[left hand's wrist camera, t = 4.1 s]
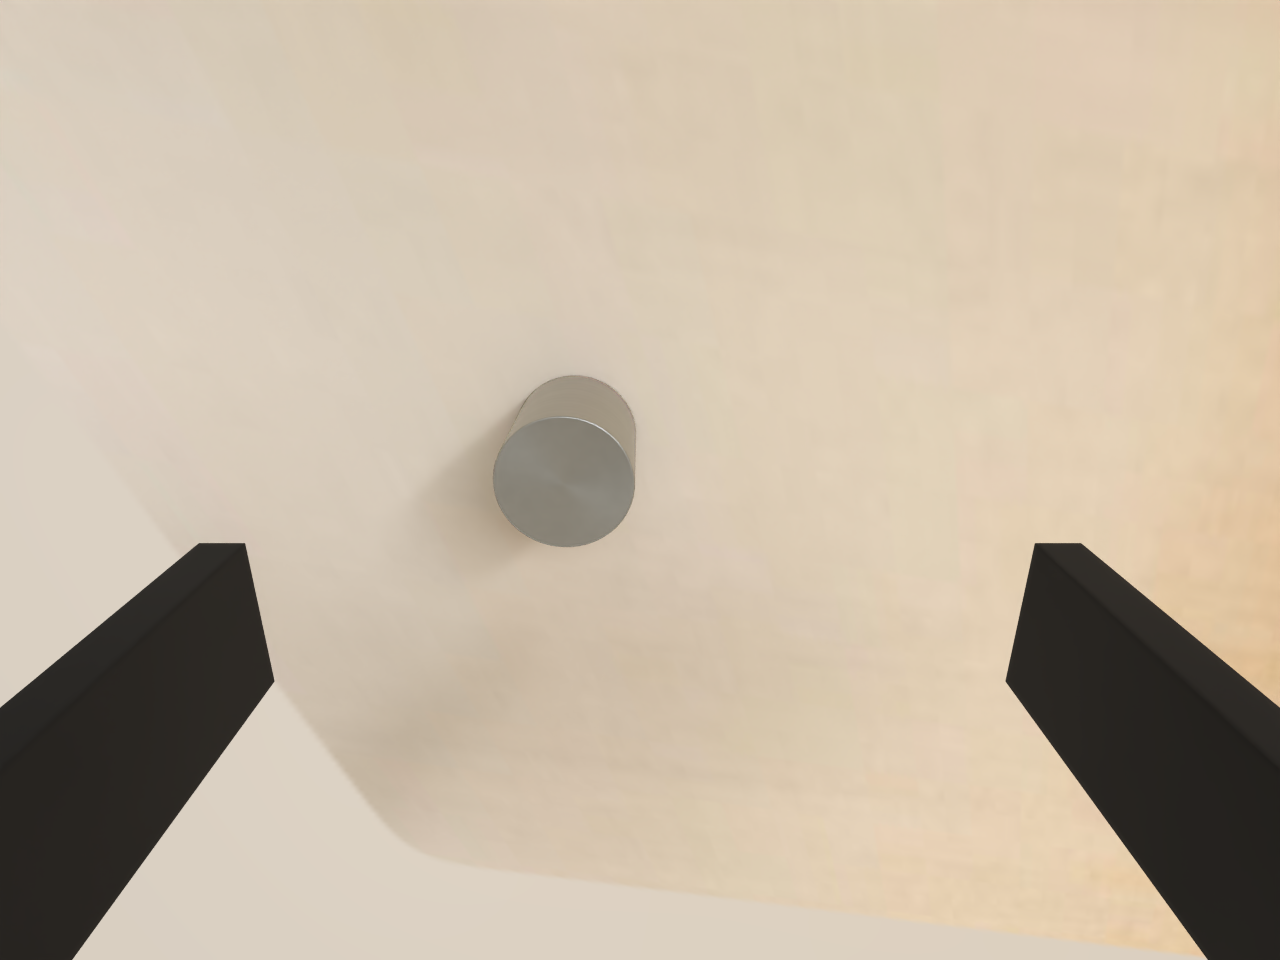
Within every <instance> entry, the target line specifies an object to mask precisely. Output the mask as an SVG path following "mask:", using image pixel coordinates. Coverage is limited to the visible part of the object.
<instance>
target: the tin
mask: <svg viewBox="0 0 1280 960" xmlns="http://www.w3.org/2000/svg"><path fill="white" fill-rule="evenodd" d="M635 451H636V428H635V422H634V418H633V415H632V413H631V411H630V409H629V407H628V405H627V403H626V402H625V401H624V399H623V398H622V397H621V396H620V395H619V394H618V393H617V392H616V391H615V390H614V389H612V388H611V387H610V386H608V385H606V384H605V383H603V382H601V381H598V380H596V379H593V378H589V377H583V376H565V377H560V378H556V379H553V380H551V381H548V382H547V383H545V384H543V385H541V386H540V387H539V388H537V389H536V390H535V391H534V392H533V393H532V394H531V395H530V396H529V397H528V399H527V400H526V401H525V403H524V405H523V406H522V408H521V410H520V412H519V414H518V416H517V418H516V420H515V422H514V424H513V426H512V428H511V430H510V432H509V434H508V436H507V438H506V440H505V442H504V444H503V446H502V448H501V450H500V451H499V454H498V456H497V459H496V461H495V466H494V472H493V487H494V492H495V496H496V499H497V502H498V504H499V506H500V508H501V510H502V512H503V513H504V515H505V516H506V518H507V519H508V520H509V521H510V522H511V524H512V525H513V526H514V527H516V528H517V529H518V530H519V531H520V532H522V533H523V534H525V535H526V536H528V537H530V538H532V539H534V540H536V541H538V542H541V543H544V544H547V545H551V546H558V547H574V546H581V545H586V544H589V543H592V542H595V541H597V540H599V539H601V538H603V537H604V536H606V535H607V534H609V533H610V532H612V531H613V530H614V529H615V528H616V527H617V526H618V525H619V524H620V523H621V522H622V520H623V519H624V517H625V516H626V514H627V513H628V511H629V508H630V506H631V503H632V500H633V497H634V490H635Z"/></svg>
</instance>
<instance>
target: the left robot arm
mask: <svg viewBox="0 0 1280 960" xmlns="http://www.w3.org/2000/svg"><path fill="white" fill-rule="evenodd" d="M273 683H274V677H273V672H272V667H271V663H270V658H269V653H268V649H267V644H266V639H265V635H264V630H263V625H262V621H261V616H260V611H259V606H258V602H257V597H256V592H255V588H254V583H253V578H252V574H251V569H250V564H249V560H248V555H247V550H246V546H245V543H199V544H197V545H196V546H195V547H194V548H193V549H191V550H190V551H189V552H188V553H187V554H185V555H184V556H183V557H182V558H181V559H179V560H178V561H177V562H176V563H175V564H173V565H172V566H171V567H170V568H168V569H167V570H166V571H165V572H164V573H162V574H161V575H160V576H159V577H158V578H156V579H155V580H154V581H153V582H152V583H150V584H149V585H148V586H147V587H146V588H144V589H143V590H142V591H141V592H140V593H138V594H137V595H136V596H135V597H133V598H132V599H131V600H130V601H129V602H127V603H126V604H125V605H124V606H123V607H121V608H120V609H119V610H118V611H117V612H115V613H114V614H113V615H112V616H110V617H109V618H108V619H107V620H106V621H104V622H103V623H102V624H101V625H100V626H98V627H97V628H96V629H95V630H94V631H92V632H91V633H90V634H89V635H88V636H86V637H85V638H84V639H83V640H81V641H80V642H79V643H78V644H77V645H75V646H74V647H73V648H72V649H71V650H69V651H68V652H67V653H66V654H65V655H63V656H62V657H61V658H60V659H59V660H57V661H56V662H55V663H54V664H53V665H51V666H50V667H49V668H48V669H46V670H45V671H44V672H43V673H42V674H40V675H39V676H38V677H37V678H36V679H34V680H33V681H32V682H31V683H30V684H28V685H27V686H26V687H25V688H24V689H22V690H21V691H20V692H19V693H17V694H16V695H15V696H14V697H13V698H11V699H10V700H9V701H8V702H7V703H5V704H4V705H3V706H2V707H1V708H0V960H72V959H73V958H74V956H75V955H76V954H77V952H78V951H79V950H80V948H81V947H82V945H83V944H84V943H85V941H86V940H87V939H88V937H89V936H90V934H91V933H92V932H93V930H94V929H95V928H96V926H97V925H98V923H99V922H100V921H101V919H102V918H103V917H104V915H105V914H106V912H107V911H108V910H109V908H110V907H111V906H112V904H113V903H114V901H115V900H116V899H117V897H118V896H119V895H120V893H121V892H122V890H123V889H124V888H125V886H126V885H127V884H128V882H129V881H130V879H131V878H132V877H133V875H134V874H135V873H136V871H137V870H138V868H139V867H140V866H141V864H142V863H143V862H144V860H145V859H146V857H147V856H148V855H149V853H150V852H151V851H152V849H153V848H154V846H155V845H156V844H157V842H158V841H159V839H160V838H161V837H162V835H163V834H164V833H165V831H166V830H167V829H168V827H169V826H170V824H171V823H172V822H173V820H174V819H175V818H176V816H177V815H178V813H179V812H180V811H181V809H182V808H183V806H184V805H185V804H186V802H187V801H188V800H189V798H190V797H191V795H192V794H193V793H194V791H195V790H196V789H197V787H198V786H199V784H200V783H201V782H202V780H203V779H204V778H205V776H206V775H207V773H208V772H209V771H210V769H211V768H212V767H213V765H214V764H215V762H216V761H217V760H218V758H219V757H220V755H221V754H222V753H223V751H224V750H225V749H226V747H227V746H228V745H229V743H230V742H231V740H232V739H233V738H234V736H235V735H236V734H237V732H238V731H239V729H240V728H241V727H242V725H243V724H244V723H245V721H246V720H247V718H248V717H249V716H250V714H251V713H252V711H253V710H254V709H255V707H256V706H257V705H258V703H259V702H260V701H261V699H262V698H263V696H264V695H265V694H266V692H267V691H268V689H269V688H270V687H271V685H272V684H273ZM1006 683H1007V684H1008V685H1009V687H1010V688H1011V690H1012V691H1013V692H1014V694H1015V695H1016V696H1017V698H1018V699H1019V701H1020V702H1021V703H1022V705H1023V706H1024V707H1025V709H1026V710H1027V712H1028V713H1029V714H1030V716H1031V717H1032V718H1033V720H1034V721H1035V723H1036V724H1037V725H1038V727H1039V728H1040V729H1041V731H1042V732H1043V734H1044V735H1045V736H1046V738H1047V739H1048V740H1049V742H1050V743H1051V745H1052V746H1053V747H1054V749H1055V750H1056V751H1057V753H1058V754H1059V756H1060V757H1061V758H1062V760H1063V761H1064V762H1065V764H1066V765H1067V767H1068V768H1069V769H1070V771H1071V772H1072V773H1073V775H1074V776H1075V778H1076V779H1077V780H1078V782H1079V783H1080V784H1081V786H1082V787H1083V789H1084V790H1085V791H1086V793H1087V794H1088V795H1089V797H1090V798H1091V800H1092V801H1093V802H1094V804H1095V805H1096V806H1097V808H1098V809H1099V811H1100V812H1101V813H1102V815H1103V816H1104V818H1105V819H1106V820H1107V822H1108V823H1109V824H1110V826H1111V827H1112V829H1113V830H1114V831H1115V833H1116V834H1117V835H1118V837H1119V838H1120V840H1121V841H1122V842H1123V844H1124V845H1125V846H1126V848H1127V849H1128V851H1129V852H1130V853H1131V855H1132V856H1133V857H1134V859H1135V860H1136V862H1137V863H1138V864H1139V866H1140V867H1141V868H1142V870H1143V871H1144V873H1145V874H1146V875H1147V877H1148V878H1149V879H1150V881H1151V882H1152V884H1153V885H1154V886H1155V888H1156V889H1157V890H1158V892H1159V893H1160V895H1161V896H1162V897H1163V899H1164V900H1165V901H1166V903H1167V904H1168V906H1169V907H1170V908H1171V910H1172V911H1173V912H1174V914H1175V915H1176V917H1177V918H1178V919H1179V921H1180V922H1181V923H1182V925H1183V926H1184V928H1185V929H1186V930H1187V932H1188V933H1189V934H1190V936H1191V937H1192V939H1193V940H1194V941H1195V943H1196V944H1197V945H1198V947H1199V948H1200V950H1201V951H1202V952H1203V954H1204V955H1205V956H1206V958H1207V959H1208V960H1280V708H1279V707H1278V706H1277V705H1276V704H1275V703H1273V702H1272V701H1271V700H1270V699H1269V698H1267V697H1266V696H1265V695H1264V694H1263V693H1261V692H1260V691H1259V690H1258V689H1257V688H1255V687H1254V686H1253V685H1252V684H1250V683H1249V682H1248V681H1247V680H1246V679H1244V678H1243V677H1242V676H1241V675H1240V674H1238V673H1237V672H1236V671H1235V670H1234V669H1232V668H1231V667H1230V666H1229V665H1228V664H1226V663H1225V662H1224V661H1223V660H1221V659H1220V658H1219V657H1218V656H1217V655H1215V654H1214V653H1213V652H1212V651H1211V650H1209V649H1208V648H1207V647H1206V646H1205V645H1203V644H1202V643H1201V642H1200V641H1199V640H1197V639H1196V638H1195V637H1194V636H1192V635H1191V634H1190V633H1189V632H1188V631H1186V630H1185V629H1184V628H1183V627H1182V626H1180V625H1179V624H1178V623H1177V622H1176V621H1174V620H1173V619H1172V618H1171V617H1170V616H1168V615H1167V614H1166V613H1165V612H1163V611H1162V610H1161V609H1160V608H1159V607H1157V606H1156V605H1155V604H1154V603H1153V602H1151V601H1150V600H1149V599H1148V598H1147V597H1145V596H1144V595H1143V594H1142V593H1141V592H1139V591H1138V590H1137V589H1136V588H1134V587H1133V586H1132V585H1131V584H1130V583H1128V582H1127V581H1126V580H1125V579H1124V578H1122V577H1121V576H1120V575H1119V574H1118V573H1116V572H1115V571H1114V570H1113V569H1112V568H1110V567H1109V566H1108V565H1107V564H1105V563H1104V562H1103V561H1102V560H1101V559H1099V558H1098V557H1097V556H1096V555H1095V554H1093V553H1092V552H1091V551H1090V550H1089V549H1087V548H1086V547H1085V546H1084V545H1083V544H1081V543H1035V546H1034V550H1033V555H1032V560H1031V564H1030V569H1029V574H1028V578H1027V583H1026V588H1025V592H1024V597H1023V602H1022V606H1021V611H1020V616H1019V621H1018V625H1017V630H1016V635H1015V639H1014V644H1013V649H1012V653H1011V658H1010V663H1009V667H1008V672H1007V677H1006Z"/></svg>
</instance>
